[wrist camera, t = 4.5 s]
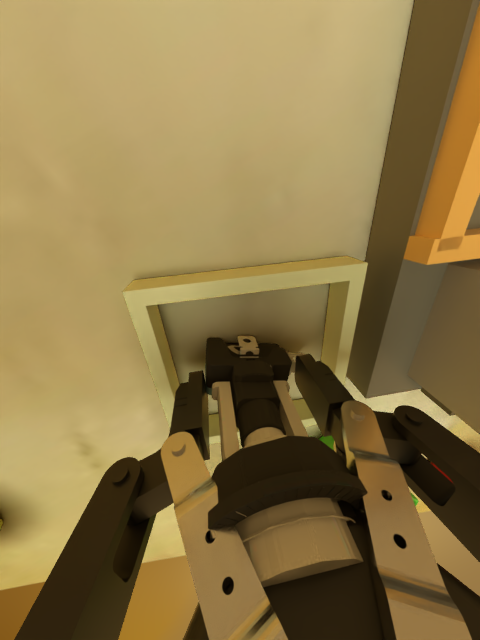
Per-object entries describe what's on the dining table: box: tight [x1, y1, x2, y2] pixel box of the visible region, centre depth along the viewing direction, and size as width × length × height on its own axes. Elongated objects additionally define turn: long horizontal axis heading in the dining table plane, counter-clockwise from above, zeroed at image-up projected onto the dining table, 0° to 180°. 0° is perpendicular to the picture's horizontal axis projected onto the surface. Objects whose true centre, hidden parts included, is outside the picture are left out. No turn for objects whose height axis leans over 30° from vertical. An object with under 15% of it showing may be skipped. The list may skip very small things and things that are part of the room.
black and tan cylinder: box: [205, 336, 368, 587], centre depth 10 cm, size 7×5×10 cm
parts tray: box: [122, 256, 368, 445], centre depth 14 cm, size 12×12×2 cm
